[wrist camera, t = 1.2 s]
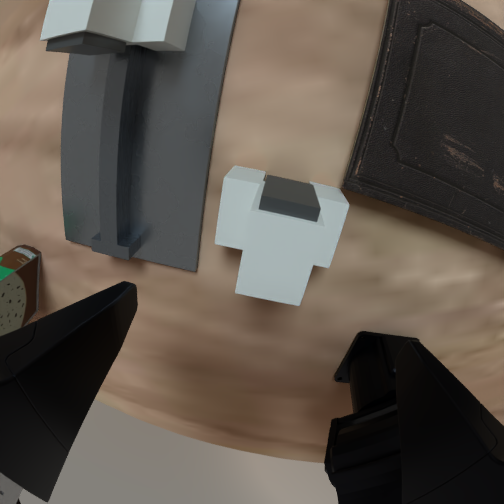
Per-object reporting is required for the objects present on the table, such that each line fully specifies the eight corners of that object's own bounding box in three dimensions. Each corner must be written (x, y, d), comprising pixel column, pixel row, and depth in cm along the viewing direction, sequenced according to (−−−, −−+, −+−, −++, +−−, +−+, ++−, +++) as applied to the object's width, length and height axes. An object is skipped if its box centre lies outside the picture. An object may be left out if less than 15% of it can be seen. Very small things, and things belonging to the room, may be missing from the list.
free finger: (323, 243, 20) (338, 313, 13) (225, 222, 20) (194, 283, 13) (341, 179, 18) (373, 223, 11) (236, 156, 18) (204, 186, 11)
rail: (197, 267, 22) (187, 287, 20) (69, 236, 22) (52, 250, 20) (248, -34, 12) (242, -51, 9) (92, -20, 12) (73, -28, 9)
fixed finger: (183, 59, 15) (120, 37, 8) (93, 62, 15) (15, 58, 8) (197, -4, 12) (146, -54, 6) (106, 5, 13) (35, -19, 6)
